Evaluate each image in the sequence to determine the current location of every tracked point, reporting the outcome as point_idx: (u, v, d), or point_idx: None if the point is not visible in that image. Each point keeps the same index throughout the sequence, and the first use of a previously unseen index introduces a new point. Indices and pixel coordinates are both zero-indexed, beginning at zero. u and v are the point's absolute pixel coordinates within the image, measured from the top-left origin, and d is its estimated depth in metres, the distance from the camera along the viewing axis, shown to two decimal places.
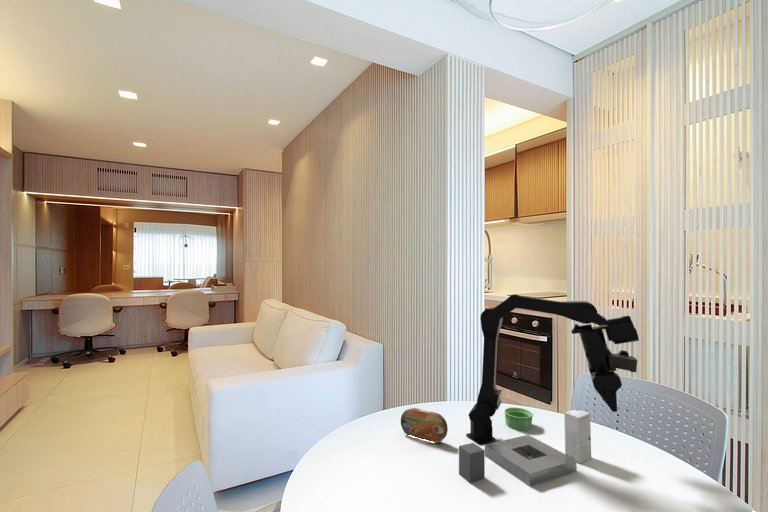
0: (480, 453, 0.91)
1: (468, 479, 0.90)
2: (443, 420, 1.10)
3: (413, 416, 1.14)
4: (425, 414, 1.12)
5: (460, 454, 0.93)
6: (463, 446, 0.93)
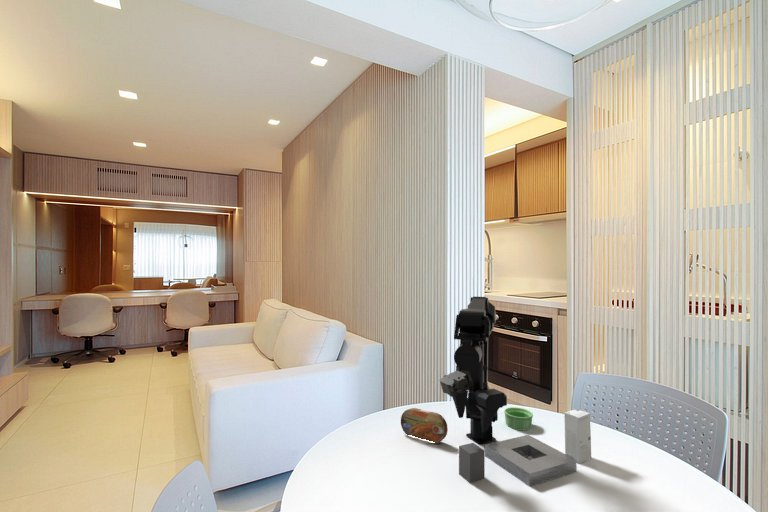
0: (480, 453, 0.91)
1: (468, 479, 0.90)
2: (443, 420, 1.10)
3: (413, 416, 1.14)
4: (425, 414, 1.12)
5: (460, 454, 0.93)
6: (463, 446, 0.93)
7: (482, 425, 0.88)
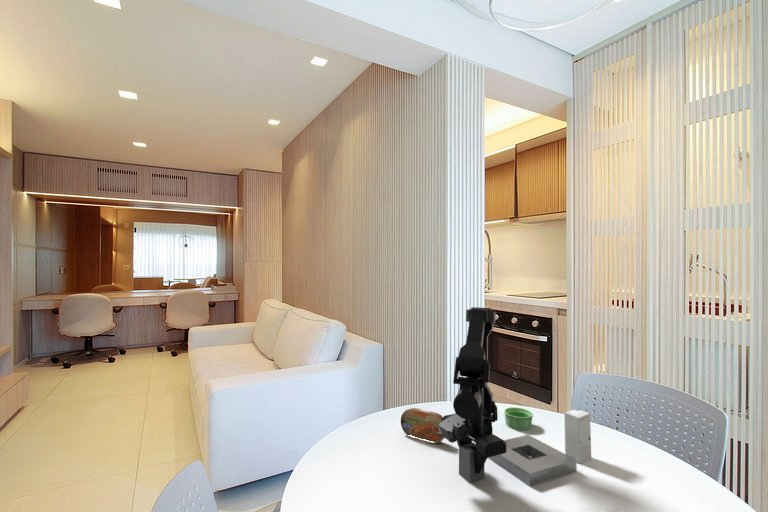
0: None
1: (468, 479, 0.90)
2: None
3: (413, 416, 1.14)
4: (425, 414, 1.12)
5: (460, 454, 0.93)
6: (463, 446, 0.93)
7: (475, 467, 0.89)
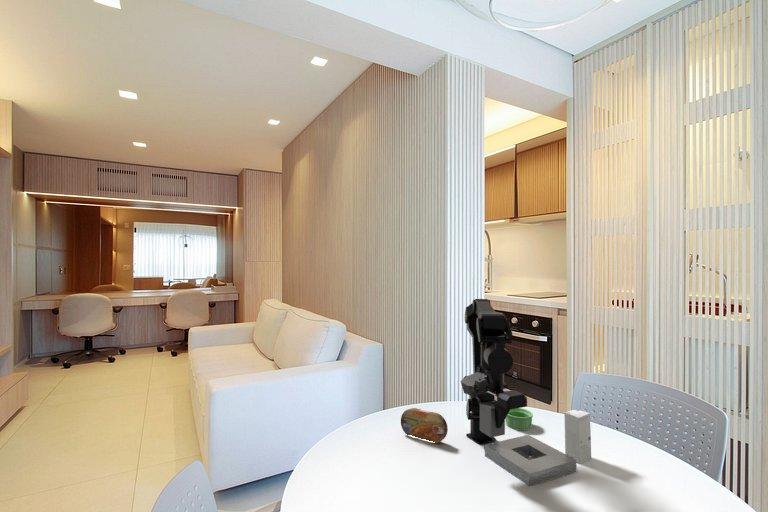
0: None
1: (489, 433, 0.93)
2: (443, 420, 1.10)
3: (413, 416, 1.14)
4: (425, 414, 1.12)
5: (481, 411, 0.96)
6: (484, 403, 0.96)
7: (496, 422, 0.92)
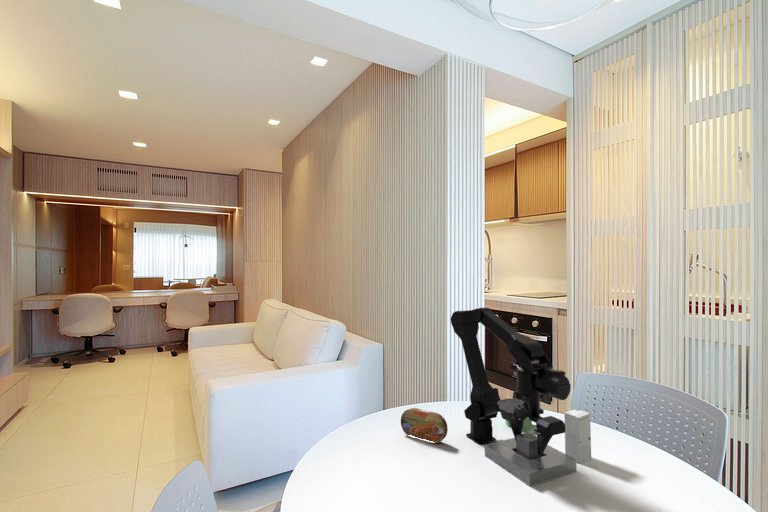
0: None
1: None
2: (443, 420, 1.10)
3: (413, 416, 1.14)
4: (425, 414, 1.12)
5: (517, 442, 0.99)
6: (520, 435, 1.00)
7: (538, 449, 0.95)
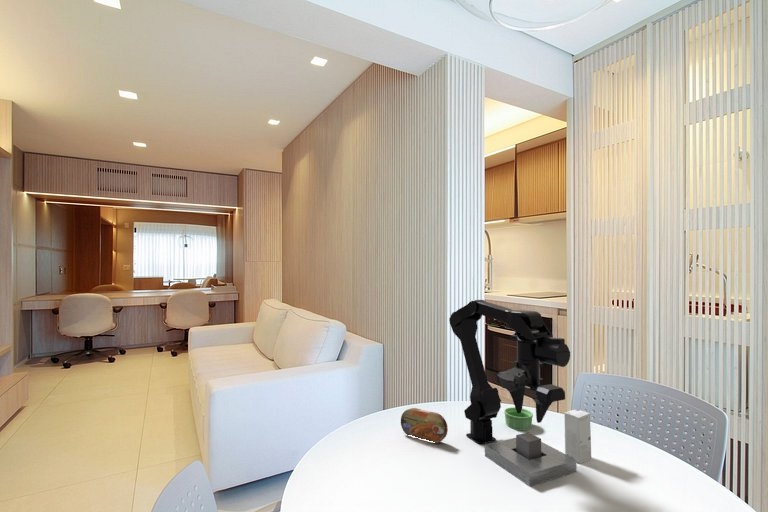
0: (537, 441, 0.97)
1: None
2: (443, 420, 1.10)
3: (413, 416, 1.14)
4: (425, 414, 1.12)
5: (517, 442, 0.99)
6: (520, 435, 1.00)
7: (537, 416, 0.95)
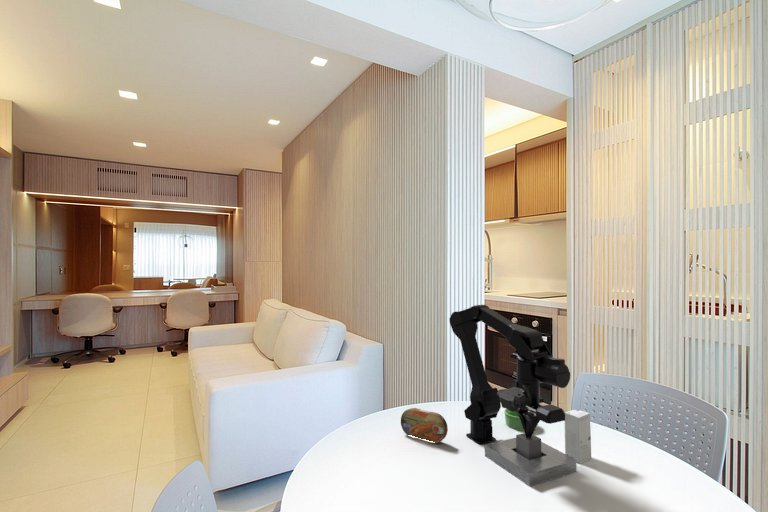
0: (537, 441, 0.97)
1: None
2: (443, 420, 1.10)
3: (413, 416, 1.14)
4: (425, 414, 1.12)
5: (517, 442, 0.99)
6: (520, 435, 1.00)
7: (527, 431, 0.98)
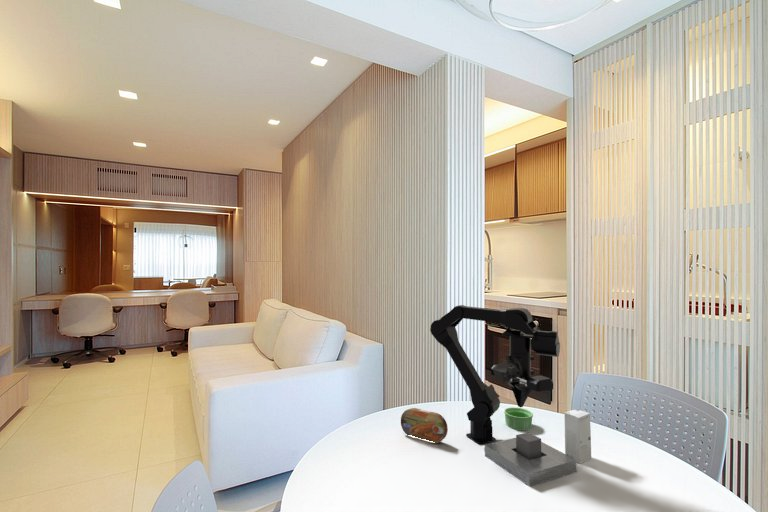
0: (537, 441, 0.97)
1: None
2: (443, 420, 1.10)
3: (413, 416, 1.14)
4: (425, 414, 1.12)
5: (517, 442, 0.99)
6: (520, 435, 1.00)
7: (519, 401, 1.06)
